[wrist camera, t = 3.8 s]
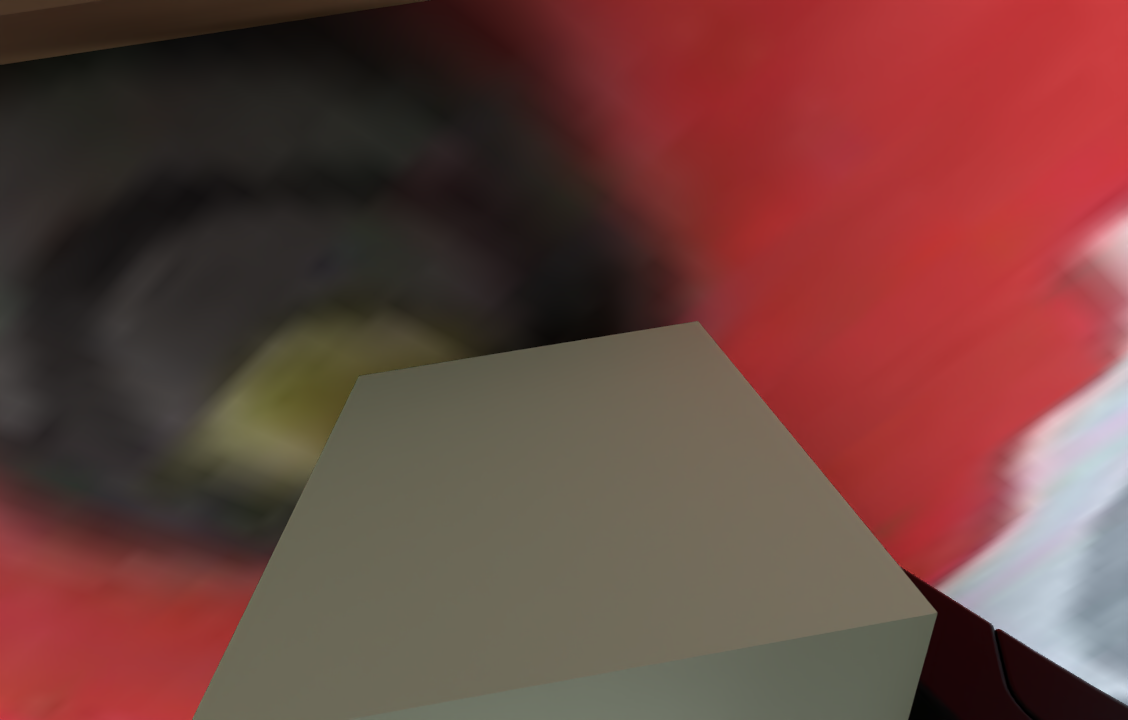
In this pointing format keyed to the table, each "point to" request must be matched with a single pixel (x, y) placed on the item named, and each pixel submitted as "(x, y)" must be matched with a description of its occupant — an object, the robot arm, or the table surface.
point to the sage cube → (573, 555)
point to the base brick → (144, 21)
